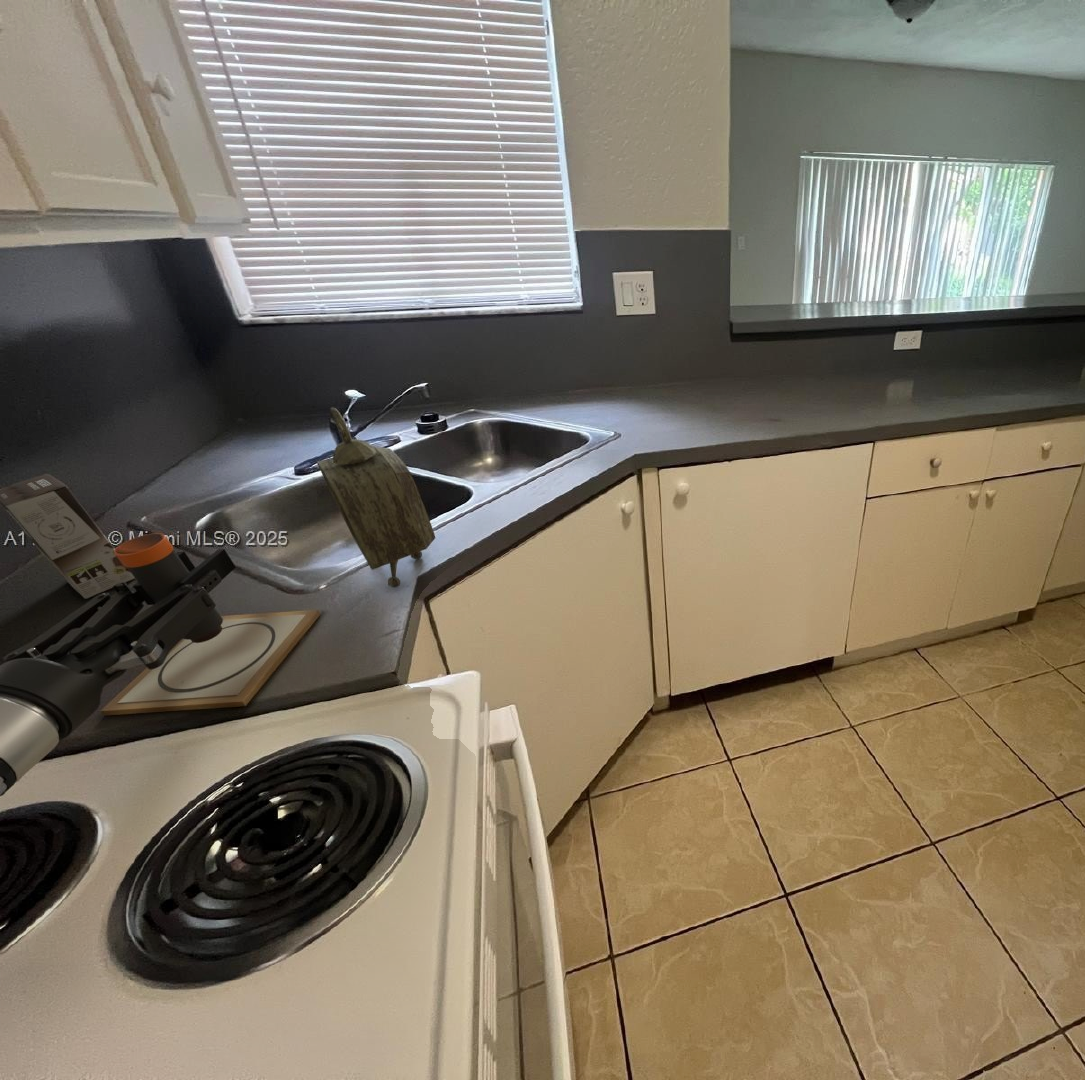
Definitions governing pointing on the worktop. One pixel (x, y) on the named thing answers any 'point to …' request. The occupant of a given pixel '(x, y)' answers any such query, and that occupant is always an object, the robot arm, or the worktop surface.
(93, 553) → the coffee box
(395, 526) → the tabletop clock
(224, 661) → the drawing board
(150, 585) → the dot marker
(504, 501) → the worktop surface
